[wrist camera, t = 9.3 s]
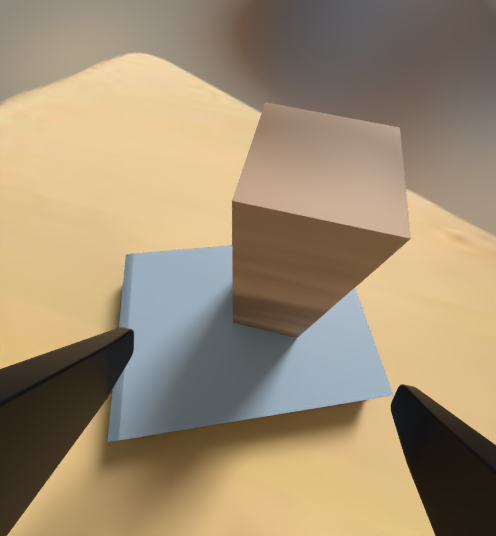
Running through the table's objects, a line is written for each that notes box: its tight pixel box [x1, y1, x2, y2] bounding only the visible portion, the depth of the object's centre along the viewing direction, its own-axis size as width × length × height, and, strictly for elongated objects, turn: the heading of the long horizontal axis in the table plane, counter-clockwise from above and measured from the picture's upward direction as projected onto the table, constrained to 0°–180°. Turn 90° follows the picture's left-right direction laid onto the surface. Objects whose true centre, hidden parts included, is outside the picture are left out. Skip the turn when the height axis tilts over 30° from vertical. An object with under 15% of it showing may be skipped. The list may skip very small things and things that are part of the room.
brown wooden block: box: [232, 103, 411, 338], centre depth 13 cm, size 4×4×12 cm
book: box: [107, 245, 393, 442], centre depth 18 cm, size 17×12×3 cm
